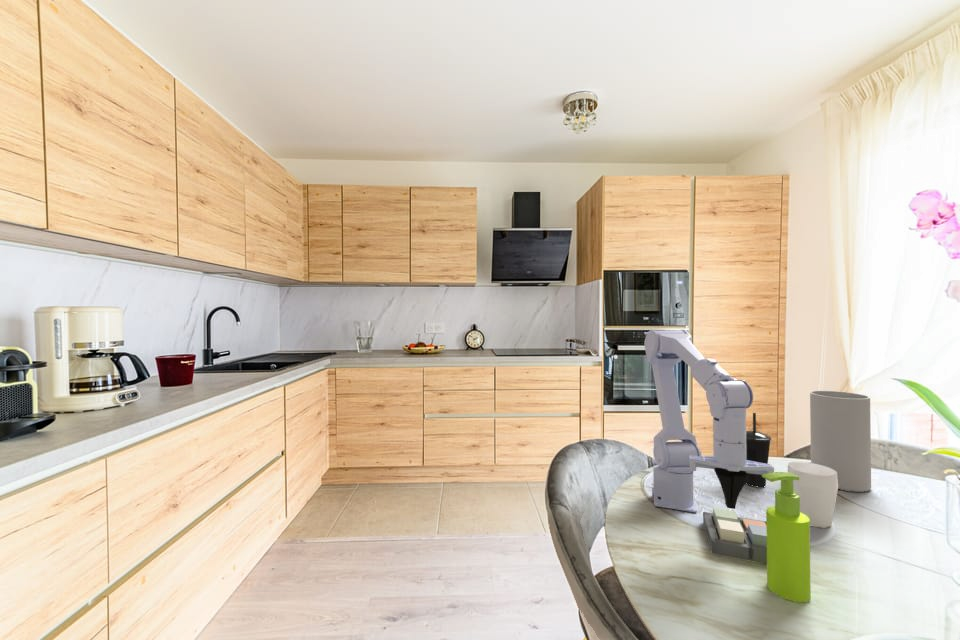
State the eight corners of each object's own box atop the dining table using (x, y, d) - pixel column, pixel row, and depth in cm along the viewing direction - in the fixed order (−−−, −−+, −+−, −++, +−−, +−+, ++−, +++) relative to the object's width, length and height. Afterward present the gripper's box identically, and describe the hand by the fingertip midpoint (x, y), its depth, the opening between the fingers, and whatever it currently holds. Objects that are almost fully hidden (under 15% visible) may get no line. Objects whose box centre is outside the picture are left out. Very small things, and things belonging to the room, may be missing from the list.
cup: (849, 532, 86) (848, 477, 86) (801, 528, 88) (800, 474, 88) (822, 512, 95) (821, 462, 95) (779, 509, 97) (779, 460, 97)
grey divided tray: (712, 553, 79) (712, 541, 79) (703, 522, 91) (703, 511, 91) (792, 568, 74) (792, 555, 74) (771, 533, 86) (771, 522, 86)
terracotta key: (746, 539, 83) (746, 527, 83) (742, 529, 86) (742, 518, 86) (769, 543, 81) (769, 531, 81) (764, 533, 85) (764, 521, 85)
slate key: (753, 546, 78) (753, 533, 78) (748, 536, 81) (748, 524, 81) (777, 550, 76) (777, 537, 76) (771, 540, 80) (771, 527, 80)
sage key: (716, 527, 85) (716, 515, 85) (713, 518, 89) (713, 507, 89) (738, 531, 83) (737, 519, 83) (734, 522, 87) (734, 510, 87)
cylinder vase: (800, 474, 119) (799, 390, 119) (847, 475, 117) (846, 391, 117) (831, 492, 106) (830, 398, 106) (884, 494, 104) (883, 399, 104)
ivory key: (720, 540, 80) (720, 528, 80) (717, 531, 84) (717, 519, 84) (744, 545, 78) (743, 532, 78) (739, 534, 82) (739, 522, 82)
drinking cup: (778, 490, 108) (778, 416, 108) (750, 490, 108) (749, 416, 108) (759, 478, 115) (758, 409, 115) (732, 478, 116) (732, 410, 116)
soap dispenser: (753, 580, 71) (752, 468, 71) (789, 578, 71) (788, 466, 71) (781, 604, 65) (779, 481, 65) (820, 601, 65) (818, 479, 65)
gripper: (691, 441, 80) (692, 508, 80) (778, 449, 74) (779, 522, 74) (687, 432, 87) (688, 494, 87) (767, 439, 81) (768, 505, 81)
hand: (730, 506), depth 81 cm, fingers closed
